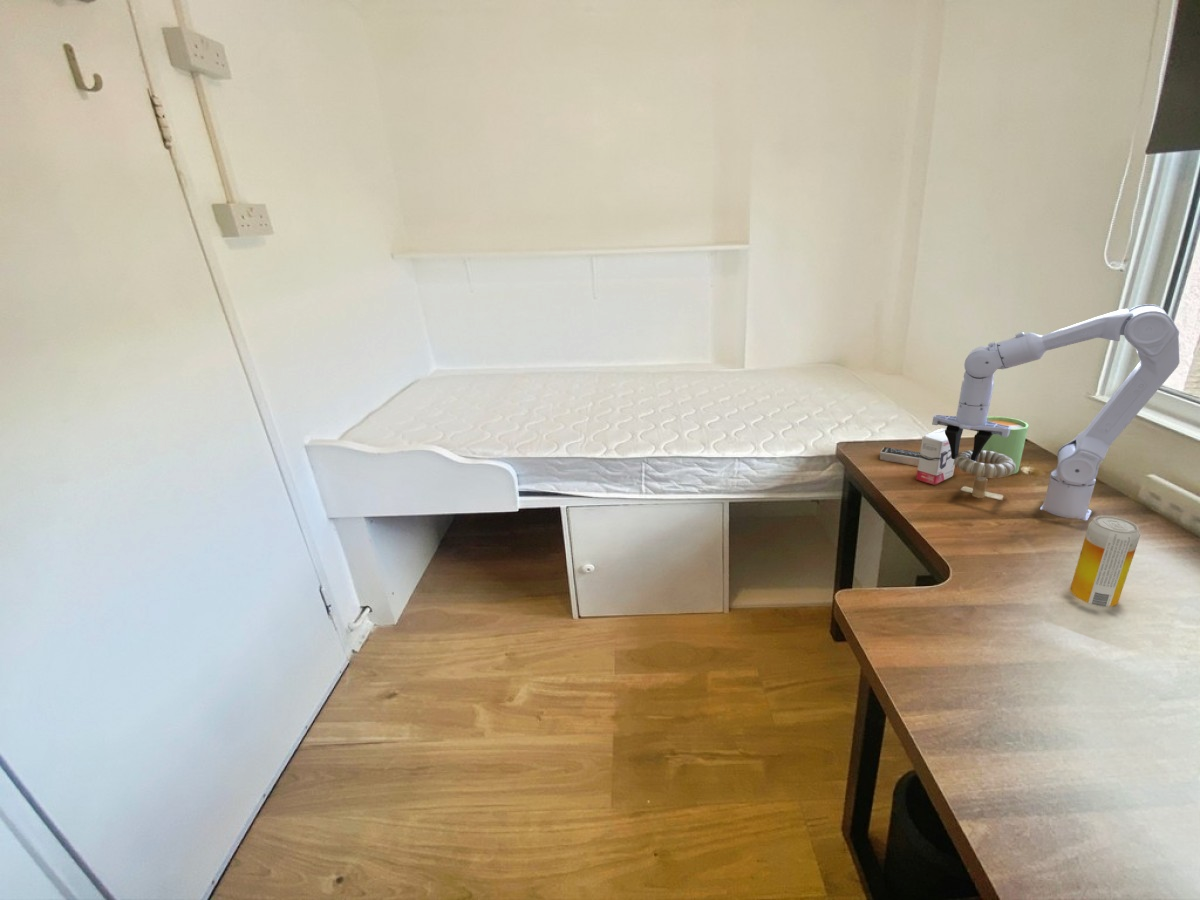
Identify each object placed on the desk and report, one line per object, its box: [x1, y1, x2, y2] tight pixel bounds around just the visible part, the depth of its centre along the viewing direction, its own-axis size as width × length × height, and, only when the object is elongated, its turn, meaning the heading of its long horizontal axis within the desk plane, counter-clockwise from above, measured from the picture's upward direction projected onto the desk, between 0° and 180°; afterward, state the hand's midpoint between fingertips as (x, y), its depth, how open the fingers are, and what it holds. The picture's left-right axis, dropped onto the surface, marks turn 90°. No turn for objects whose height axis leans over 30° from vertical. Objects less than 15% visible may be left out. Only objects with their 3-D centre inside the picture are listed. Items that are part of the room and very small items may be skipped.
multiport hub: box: [879, 446, 920, 467], centre depth 149 cm, size 4×11×2 cm, turn 52°
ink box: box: [915, 428, 956, 486], centre depth 137 cm, size 8×5×12 cm, turn 122°
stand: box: [959, 476, 1004, 501], centre depth 125 cm, size 8×8×6 cm
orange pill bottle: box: [1069, 515, 1141, 607], centre depth 90 cm, size 6×6×15 cm
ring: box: [954, 449, 1016, 479], centre depth 123 cm, size 11×11×3 cm
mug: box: [976, 416, 1030, 475], centre depth 141 cm, size 13×10×12 cm
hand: (963, 459), depth 126 cm, fingers closed on ring, 3 cm apart
